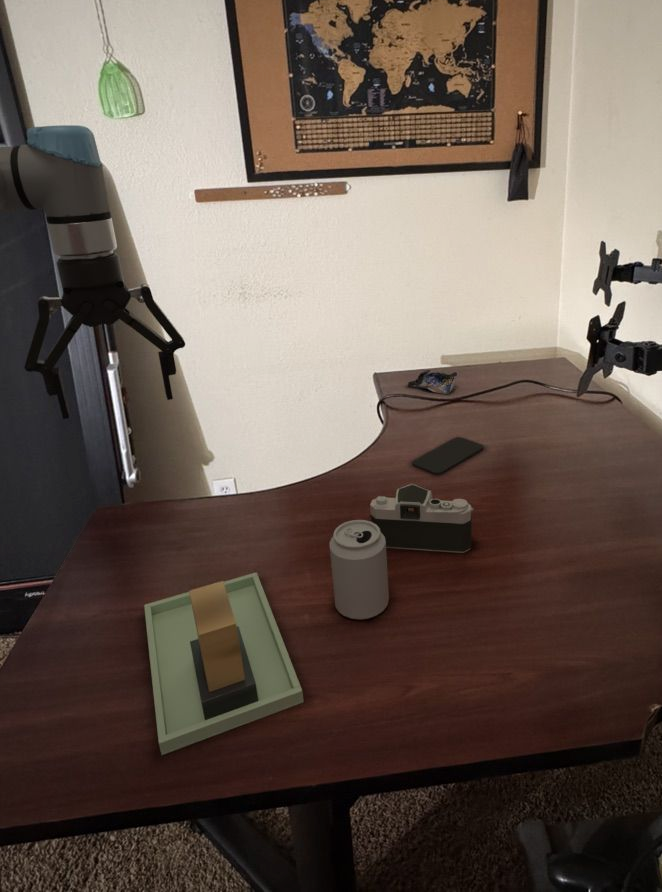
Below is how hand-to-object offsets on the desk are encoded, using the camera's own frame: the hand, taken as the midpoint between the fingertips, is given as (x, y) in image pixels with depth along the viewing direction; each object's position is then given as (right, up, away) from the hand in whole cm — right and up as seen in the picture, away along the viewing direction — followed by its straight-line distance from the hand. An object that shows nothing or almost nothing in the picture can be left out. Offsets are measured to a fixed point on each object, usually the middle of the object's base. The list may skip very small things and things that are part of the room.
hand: (119, 405), depth 89 cm
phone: (+50, -12, +37) cm, 64 cm away
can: (+34, -28, -2) cm, 44 cm away
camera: (+44, -22, +12) cm, 50 cm away
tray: (+16, -31, -9) cm, 37 cm away
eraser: (+18, -32, -14) cm, 40 cm away
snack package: (+50, +1, +74) cm, 89 cm away
